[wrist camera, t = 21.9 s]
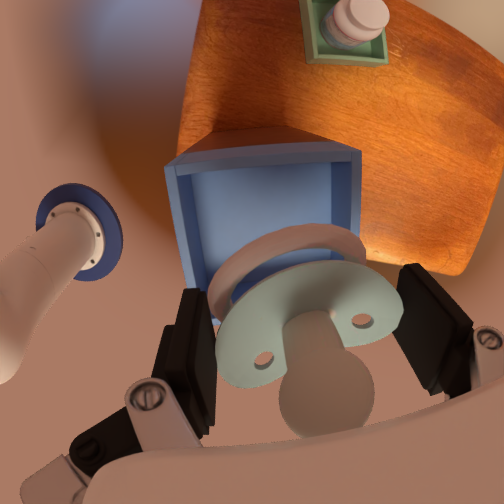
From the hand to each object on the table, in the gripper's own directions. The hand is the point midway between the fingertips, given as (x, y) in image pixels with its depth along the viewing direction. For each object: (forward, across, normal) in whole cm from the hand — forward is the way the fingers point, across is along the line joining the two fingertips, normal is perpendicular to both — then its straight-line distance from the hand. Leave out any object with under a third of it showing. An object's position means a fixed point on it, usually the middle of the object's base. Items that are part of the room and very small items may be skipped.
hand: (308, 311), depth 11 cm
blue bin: (+33, 0, 0) cm, 33 cm away
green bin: (+33, -13, -19) cm, 40 cm away
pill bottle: (+32, -13, -19) cm, 40 cm away
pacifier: (+2, 0, 0) cm, 2 cm away
